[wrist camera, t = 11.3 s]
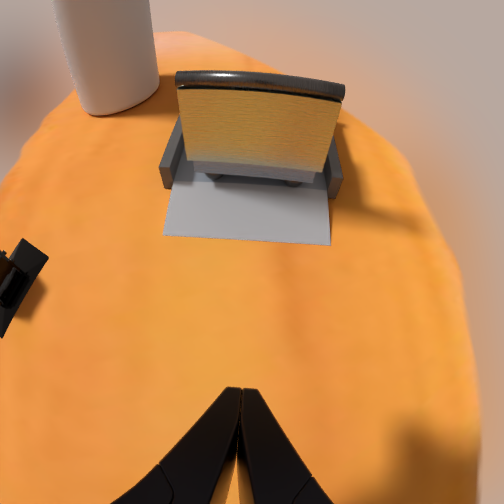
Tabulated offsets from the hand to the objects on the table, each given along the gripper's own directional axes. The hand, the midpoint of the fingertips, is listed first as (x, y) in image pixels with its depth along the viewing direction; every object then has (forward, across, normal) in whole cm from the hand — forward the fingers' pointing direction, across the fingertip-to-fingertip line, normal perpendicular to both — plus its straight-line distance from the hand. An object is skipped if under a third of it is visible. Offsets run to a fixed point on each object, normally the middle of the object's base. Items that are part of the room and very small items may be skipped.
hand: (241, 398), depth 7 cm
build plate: (+13, +23, +5) cm, 27 cm away
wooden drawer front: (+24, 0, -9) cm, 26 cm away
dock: (+24, +1, -7) cm, 25 cm away
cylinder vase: (+34, +22, -18) cm, 44 cm away
